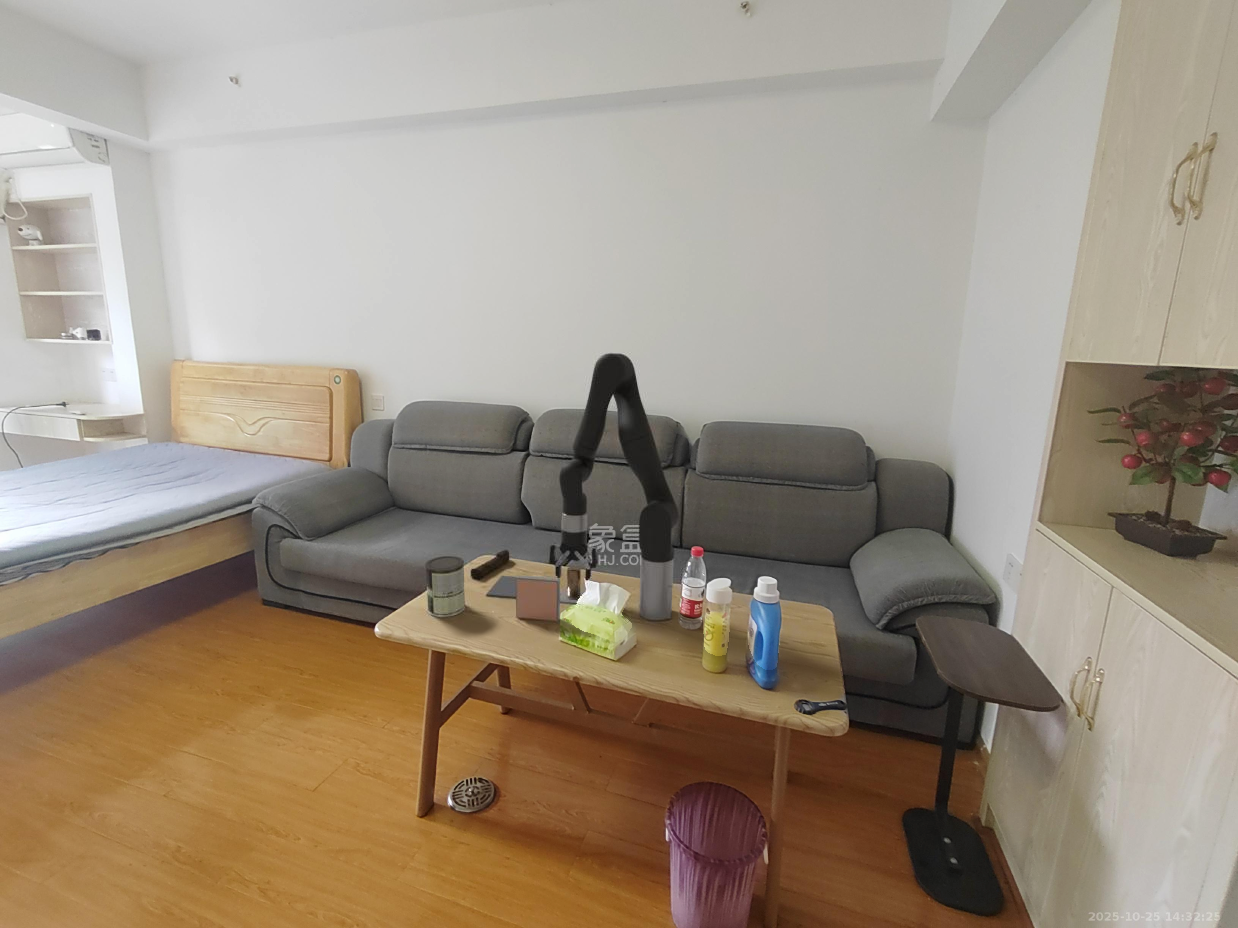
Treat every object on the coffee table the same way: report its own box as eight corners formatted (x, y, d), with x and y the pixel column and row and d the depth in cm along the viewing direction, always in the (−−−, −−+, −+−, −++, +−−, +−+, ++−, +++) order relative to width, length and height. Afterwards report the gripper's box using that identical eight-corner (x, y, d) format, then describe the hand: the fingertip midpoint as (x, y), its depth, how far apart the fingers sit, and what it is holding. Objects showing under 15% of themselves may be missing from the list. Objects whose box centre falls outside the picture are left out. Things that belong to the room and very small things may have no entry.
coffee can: (419, 612, 156) (417, 565, 153) (445, 598, 165) (443, 553, 162) (447, 620, 152) (445, 572, 149) (472, 605, 161) (471, 559, 158)
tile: (559, 618, 154) (559, 578, 152) (558, 622, 153) (558, 581, 150) (517, 615, 156) (517, 575, 153) (515, 618, 154) (515, 577, 152)
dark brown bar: (479, 581, 178) (479, 568, 177) (470, 579, 179) (469, 565, 178) (515, 562, 194) (515, 549, 193) (506, 560, 196) (506, 547, 195)
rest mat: (543, 580, 179) (543, 578, 179) (531, 599, 165) (531, 597, 165) (501, 577, 181) (501, 575, 181) (486, 595, 167) (486, 594, 167)
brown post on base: (589, 592, 171) (589, 565, 169) (584, 604, 164) (584, 575, 162) (563, 590, 172) (563, 563, 170) (557, 602, 164) (557, 573, 163)
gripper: (600, 525, 166) (598, 575, 170) (553, 521, 168) (553, 571, 171) (595, 533, 159) (594, 585, 162) (547, 529, 161) (546, 581, 164)
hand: (573, 578), depth 167 cm, fingers open, 8 cm apart
